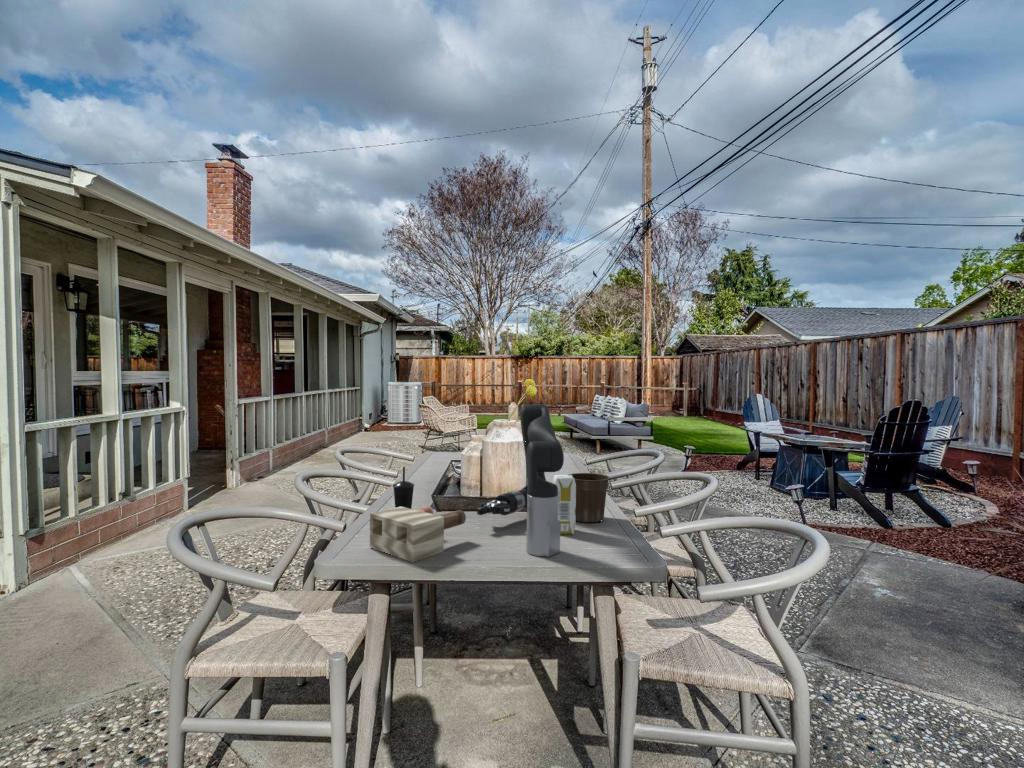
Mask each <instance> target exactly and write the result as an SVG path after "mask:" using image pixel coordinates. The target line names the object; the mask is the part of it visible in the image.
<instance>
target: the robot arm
mask: <svg viewBox="0 0 1024 768" xmlns="http://www.w3.org/2000/svg"><path fill="white" fill-rule="evenodd" d="M519 412H520V413H519V418H520V427H521V428H520V429H521V434H522V435H521V436H522V441H523V449H524V455H525V469H526V470H525V471H526V478H527V485H525V486H523V487H522V488H521V489H520V490H516V491H509V492H506V493H505V492H504V493H500V494H499V495H497V497H496V498H495V499H493V500H491V501H488V502H487V501H485V500H482V501H481V502H480V503H481V504H480V507H478V508H476V509H477V510H476V514H477V515H480V516H483V515H486V514H488V515H489V514H492V515H501V516H509V515H511V514H514V513H517V512H519V511H522V510H525V509H526V553H528V554H529V555H532V556H536V557H546V558H550V557H552V556H554V555H556V554H558V553H560V552H561V534H560V520H557V517H558V487H557V485H555V484H553V482H551V481H548V480H547V479H546V476H545V475H546V474H545V473H556V472H560V470H561V469H562V468H563V466H564V461H565V456H564V455H565V454H564V450H563V446H562V444H561V443H560V441H559V440H558V438H557V435H556V432H555V429H554V426H553V424H552V422H551V421H552V420H551V415H550V410H549V407H548V406H547V405H546V404H544V403H535V404H523V405H521V407H520V411H519ZM525 441H526V442H525Z"/></svg>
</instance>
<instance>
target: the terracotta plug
mask: <svg viewBox="0 0 1024 768" xmlns="http://www.w3.org/2000/svg"><path fill="white" fill-rule="evenodd" d="M416 510H418V511H422V512H426V513H430V514H434V512H433V509H432V508H431V507H430V506H424V507H421V508H418V509H416Z"/></svg>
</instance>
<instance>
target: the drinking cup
mask: <svg viewBox="0 0 1024 768" xmlns="http://www.w3.org/2000/svg"><path fill="white" fill-rule="evenodd" d="M405 473H406V467H405V466H403V467H402V481H400V480H399V481H398V482H396V483H393V485H392V488H393V497H394V508H396V507H406V508H410V509H412V505H413V497H414V489H415V483H414V482H413V483H412V482H410V481H407V480H405V479H406V477H405V475H406V474H405Z"/></svg>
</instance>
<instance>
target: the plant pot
mask: <svg viewBox="0 0 1024 768" xmlns="http://www.w3.org/2000/svg"><path fill="white" fill-rule="evenodd" d="M567 475H572V477H573V478H574V479H575V483H576V521H577V522H579V521H581V522H580V523H584V522H595V523H597V522H599V521H601V520H603V519H604V518H605V509H606V499H607V489H608V487H609V480H610V478H611V477H610V476H609V475H607V474H601V473H592V472H575V473H574V472H573V473H569V474H567ZM603 521H604V520H603ZM601 522H602V521H601Z"/></svg>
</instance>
